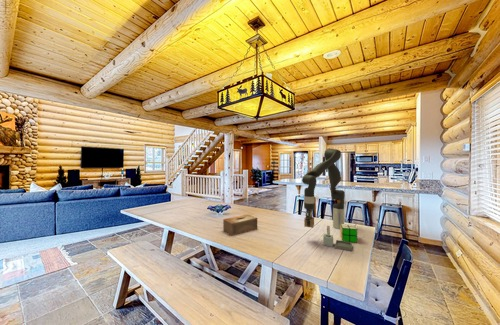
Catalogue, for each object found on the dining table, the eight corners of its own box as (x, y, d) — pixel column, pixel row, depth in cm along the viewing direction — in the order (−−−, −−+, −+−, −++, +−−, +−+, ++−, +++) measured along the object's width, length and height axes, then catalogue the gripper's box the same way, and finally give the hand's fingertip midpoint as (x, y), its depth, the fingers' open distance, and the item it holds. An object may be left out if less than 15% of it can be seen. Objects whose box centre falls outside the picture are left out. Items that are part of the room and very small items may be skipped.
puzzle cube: (354, 237, 156) (354, 224, 156) (357, 242, 146) (357, 229, 146) (340, 236, 159) (340, 223, 159) (342, 241, 149) (342, 227, 149)
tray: (336, 242, 146) (336, 239, 146) (351, 245, 142) (351, 242, 142) (335, 248, 137) (335, 245, 137) (351, 251, 133) (351, 248, 133)
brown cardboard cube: (306, 224, 154) (306, 216, 154) (314, 225, 151) (314, 217, 151) (304, 226, 149) (304, 218, 148) (312, 227, 146) (312, 219, 146)
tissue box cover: (232, 236, 161) (232, 223, 161) (223, 230, 173) (223, 219, 173) (257, 229, 176) (257, 217, 176) (247, 224, 188) (247, 214, 188)
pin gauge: (326, 242, 145) (327, 225, 145) (329, 242, 144) (330, 225, 144) (326, 243, 144) (326, 226, 143) (329, 243, 143) (329, 226, 143)
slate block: (324, 241, 148) (324, 233, 148) (333, 243, 145) (333, 235, 145) (323, 245, 143) (323, 236, 143) (332, 246, 140) (332, 238, 140)
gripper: (312, 204, 141) (312, 228, 142) (316, 200, 154) (316, 222, 155) (302, 203, 145) (302, 226, 145) (306, 199, 158) (306, 220, 158)
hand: (309, 224), depth 150 cm, fingers closed on brown cardboard cube, 6 cm apart
